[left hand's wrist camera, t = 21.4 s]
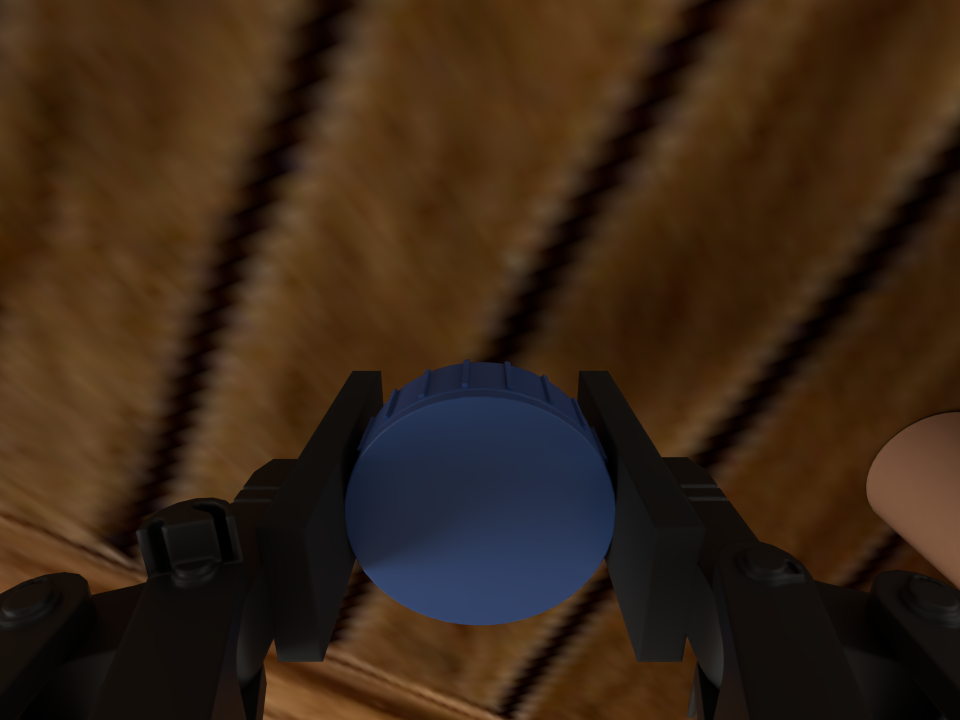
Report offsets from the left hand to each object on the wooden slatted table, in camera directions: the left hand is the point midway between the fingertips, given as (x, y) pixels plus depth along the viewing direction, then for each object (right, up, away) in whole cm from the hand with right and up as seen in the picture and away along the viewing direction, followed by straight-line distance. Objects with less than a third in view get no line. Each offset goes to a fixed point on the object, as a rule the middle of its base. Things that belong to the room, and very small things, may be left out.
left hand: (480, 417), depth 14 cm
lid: (0, -1, -4) cm, 4 cm away
